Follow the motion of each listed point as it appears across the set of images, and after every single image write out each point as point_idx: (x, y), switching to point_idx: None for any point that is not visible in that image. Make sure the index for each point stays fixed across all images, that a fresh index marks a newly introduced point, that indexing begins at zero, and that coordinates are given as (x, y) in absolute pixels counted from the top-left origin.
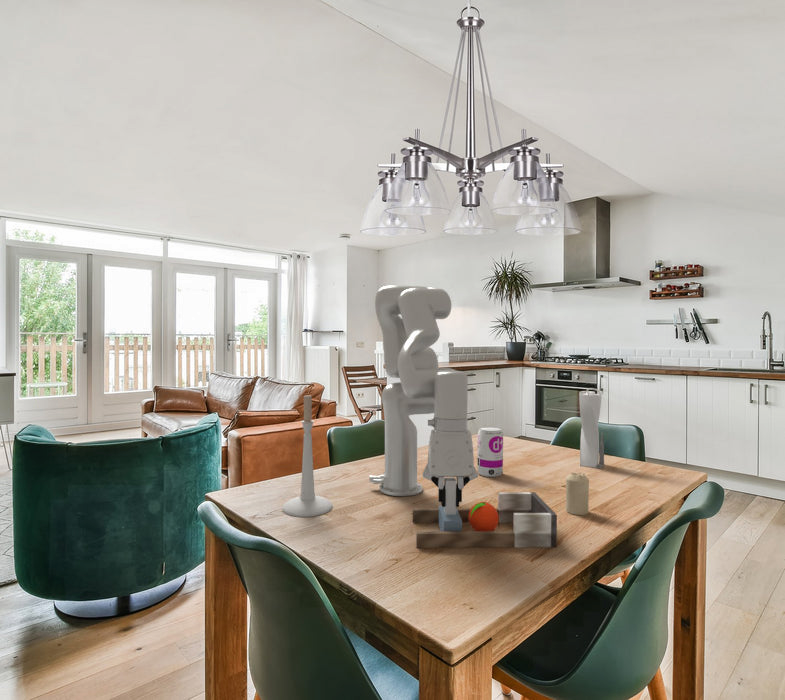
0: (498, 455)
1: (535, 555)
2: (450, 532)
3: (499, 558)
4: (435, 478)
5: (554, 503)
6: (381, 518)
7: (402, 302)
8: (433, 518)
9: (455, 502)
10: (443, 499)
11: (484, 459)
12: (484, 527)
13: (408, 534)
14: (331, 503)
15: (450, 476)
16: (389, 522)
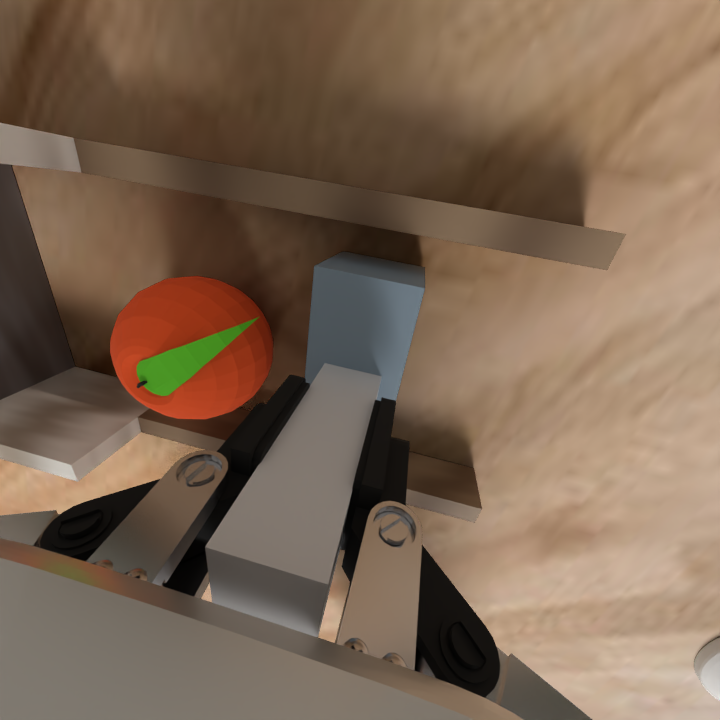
0: None
1: (53, 35)
2: (407, 215)
3: (214, 13)
4: (449, 659)
5: (18, 464)
6: (575, 528)
7: None
8: None
9: (303, 401)
10: (385, 427)
11: None
12: (216, 280)
13: (544, 379)
14: (712, 663)
15: (238, 619)
16: (563, 493)
